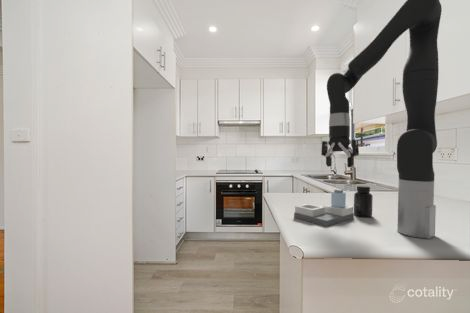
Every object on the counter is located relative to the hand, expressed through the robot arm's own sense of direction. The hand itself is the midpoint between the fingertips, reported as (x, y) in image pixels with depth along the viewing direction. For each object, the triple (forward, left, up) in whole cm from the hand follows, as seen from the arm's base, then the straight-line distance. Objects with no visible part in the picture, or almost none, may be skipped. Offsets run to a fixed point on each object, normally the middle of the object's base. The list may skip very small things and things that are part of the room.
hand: (339, 166), depth 98 cm
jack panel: (+3, +5, -20) cm, 21 cm away
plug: (0, 0, -18) cm, 18 cm away
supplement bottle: (-4, -12, -20) cm, 24 cm away
